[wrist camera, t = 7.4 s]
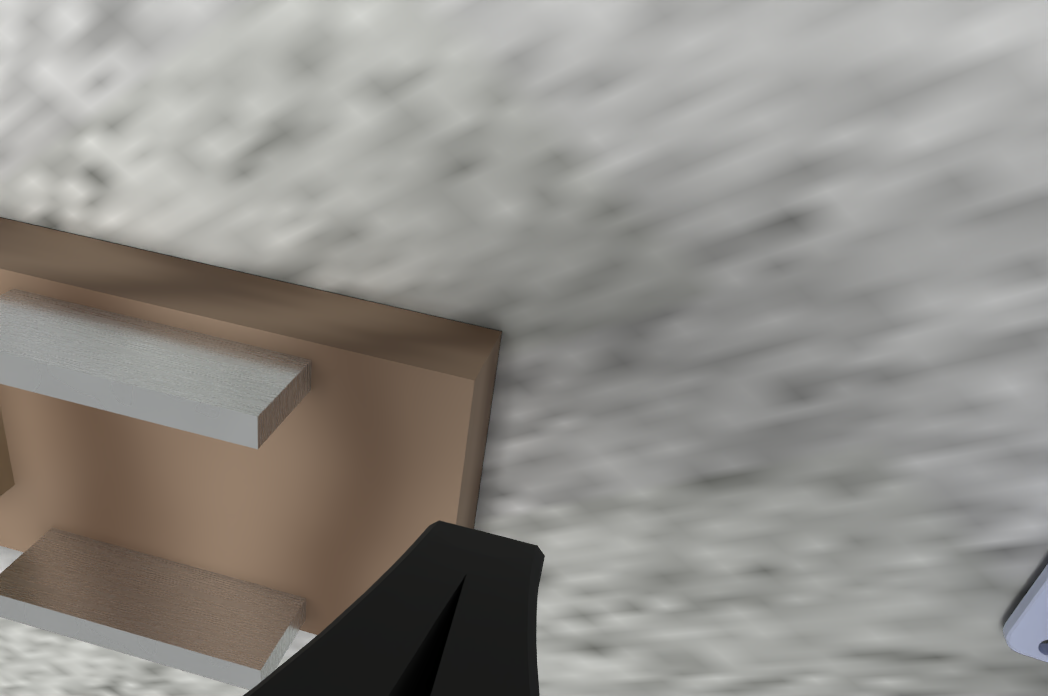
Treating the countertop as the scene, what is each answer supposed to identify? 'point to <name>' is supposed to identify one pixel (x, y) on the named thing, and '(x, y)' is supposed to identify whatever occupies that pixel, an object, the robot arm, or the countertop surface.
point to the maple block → (4, 461)
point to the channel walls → (171, 400)
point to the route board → (284, 458)
